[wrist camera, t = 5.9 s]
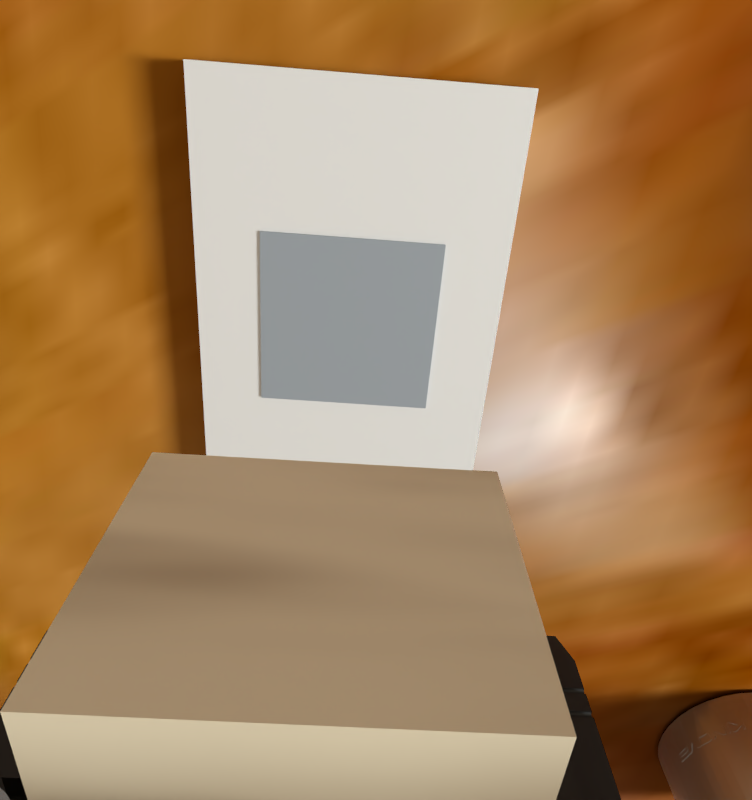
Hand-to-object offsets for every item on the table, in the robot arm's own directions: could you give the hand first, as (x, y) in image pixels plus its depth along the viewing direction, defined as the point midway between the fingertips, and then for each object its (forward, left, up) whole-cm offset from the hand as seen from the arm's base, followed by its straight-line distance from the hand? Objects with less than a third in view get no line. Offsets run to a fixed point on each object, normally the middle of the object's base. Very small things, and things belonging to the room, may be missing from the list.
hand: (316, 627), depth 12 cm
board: (0, 0, -17) cm, 17 cm away
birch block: (0, 0, -1) cm, 1 cm away
